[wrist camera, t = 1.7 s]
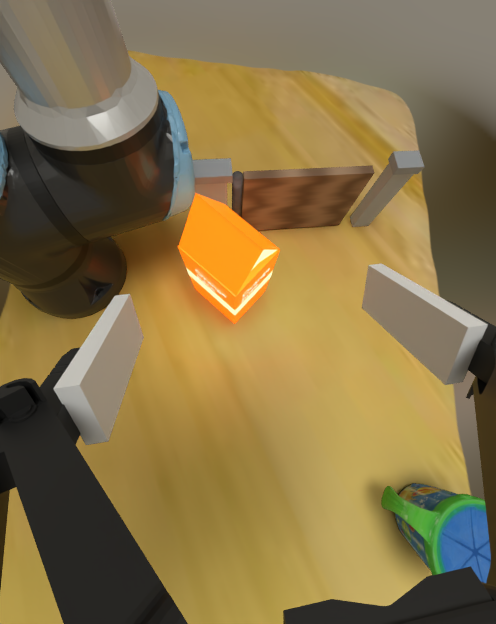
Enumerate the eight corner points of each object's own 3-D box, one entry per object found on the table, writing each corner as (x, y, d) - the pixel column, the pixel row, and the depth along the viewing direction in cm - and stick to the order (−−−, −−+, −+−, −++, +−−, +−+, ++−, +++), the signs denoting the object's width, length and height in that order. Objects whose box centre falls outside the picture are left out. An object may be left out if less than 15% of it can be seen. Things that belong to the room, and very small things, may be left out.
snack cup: (351, 512, 37) (395, 559, 28) (386, 443, 40) (437, 463, 30) (452, 587, 36) (536, 665, 26) (481, 511, 38) (567, 555, 29)
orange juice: (234, 324, 43) (235, 279, 24) (194, 289, 44) (163, 217, 25) (266, 290, 45) (291, 221, 25) (226, 256, 46) (222, 166, 26)
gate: (232, 232, 47) (232, 180, 35) (230, 219, 47) (231, 164, 35) (338, 225, 48) (374, 173, 36) (336, 213, 49) (370, 158, 37)
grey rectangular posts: (201, 238, 46) (189, 177, 33) (200, 224, 47) (188, 160, 33) (370, 227, 49) (424, 166, 35) (366, 214, 50) (418, 150, 36)
